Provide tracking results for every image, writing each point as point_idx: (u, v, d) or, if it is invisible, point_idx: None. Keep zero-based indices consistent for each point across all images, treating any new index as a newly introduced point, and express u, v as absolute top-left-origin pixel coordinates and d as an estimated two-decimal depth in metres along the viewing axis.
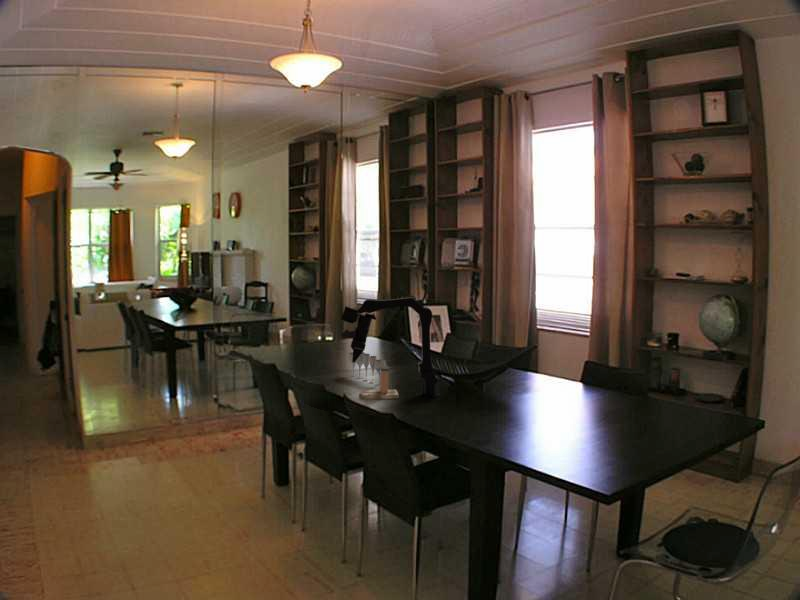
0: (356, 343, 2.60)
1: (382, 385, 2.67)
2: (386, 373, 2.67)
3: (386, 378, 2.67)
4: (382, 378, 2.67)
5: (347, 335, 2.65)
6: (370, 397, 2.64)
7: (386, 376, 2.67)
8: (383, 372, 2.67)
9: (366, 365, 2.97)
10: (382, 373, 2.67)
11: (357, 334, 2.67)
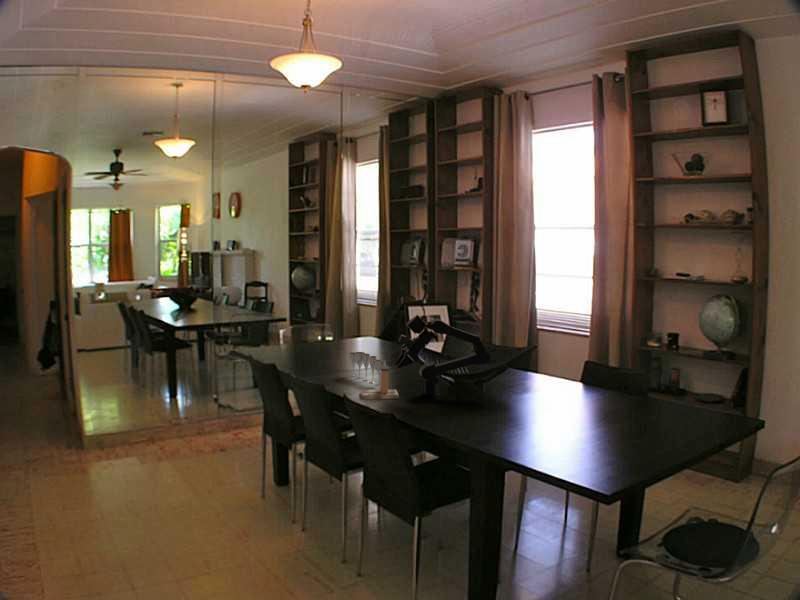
0: (413, 354, 2.60)
1: (382, 385, 2.67)
2: (386, 373, 2.67)
3: (386, 378, 2.67)
4: (382, 378, 2.67)
5: (406, 341, 2.65)
6: (370, 397, 2.64)
7: (386, 376, 2.67)
8: (383, 372, 2.67)
9: (366, 365, 2.97)
10: (382, 373, 2.67)
11: (414, 345, 2.67)
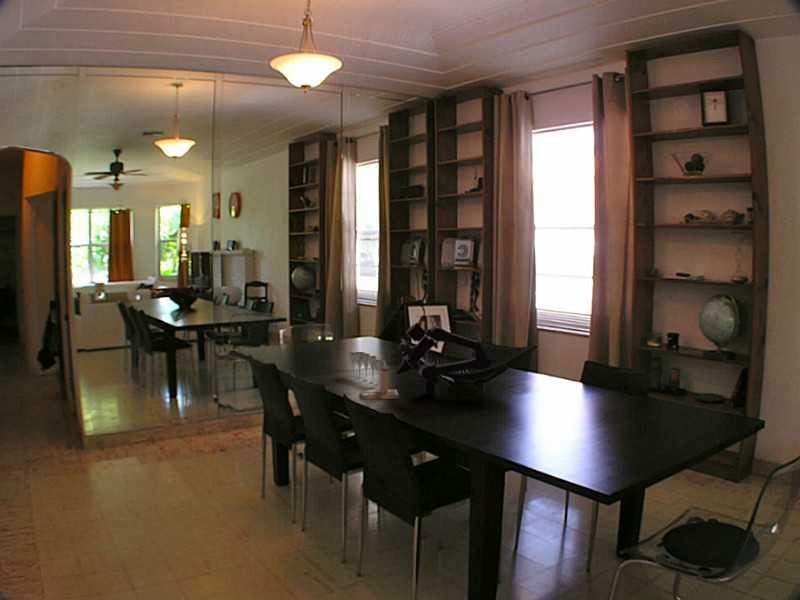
0: (413, 362, 2.61)
1: (382, 385, 2.67)
2: (386, 373, 2.67)
3: (386, 378, 2.67)
4: (382, 378, 2.67)
5: (406, 349, 2.65)
6: (370, 397, 2.64)
7: (386, 376, 2.67)
8: (383, 372, 2.67)
9: (366, 365, 2.97)
10: (382, 373, 2.67)
11: (414, 353, 2.68)
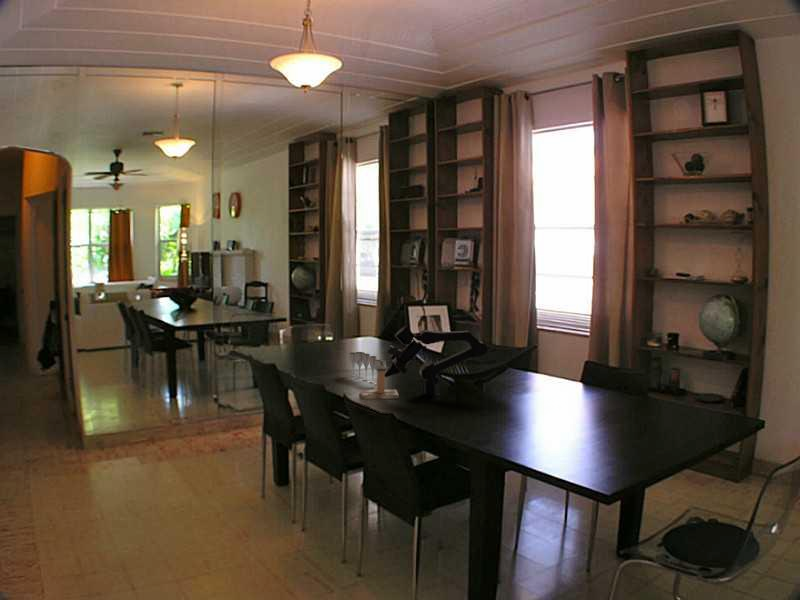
0: (401, 365, 2.60)
1: (379, 385, 2.67)
2: (383, 373, 2.67)
3: (383, 378, 2.67)
4: (379, 378, 2.67)
5: (394, 352, 2.65)
6: (370, 397, 2.64)
7: (383, 376, 2.67)
8: (380, 372, 2.66)
9: (366, 365, 2.97)
10: (379, 373, 2.66)
11: (402, 356, 2.67)
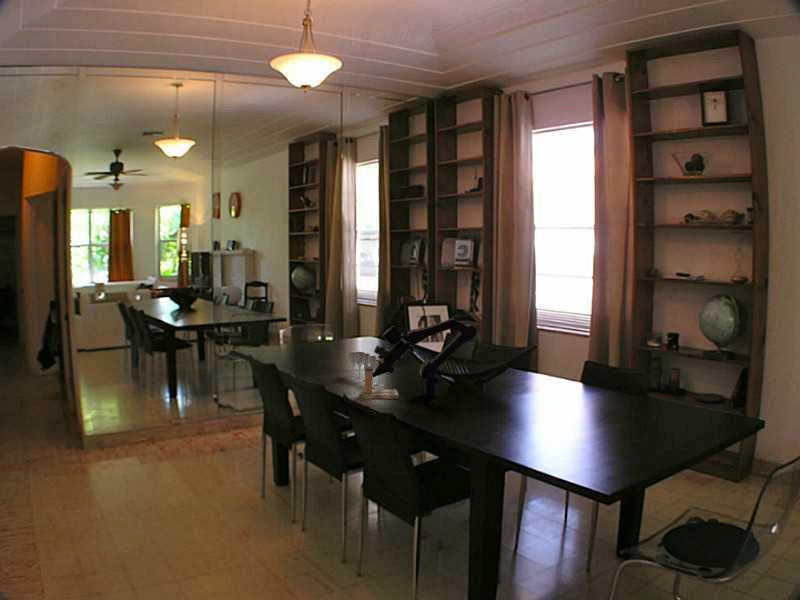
0: (388, 365, 2.60)
1: (366, 385, 2.66)
2: (370, 373, 2.66)
3: (370, 378, 2.66)
4: (366, 378, 2.66)
5: (381, 352, 2.64)
6: (370, 397, 2.64)
7: (370, 376, 2.66)
8: (367, 372, 2.66)
9: (366, 365, 2.97)
10: (366, 373, 2.66)
11: (389, 356, 2.66)
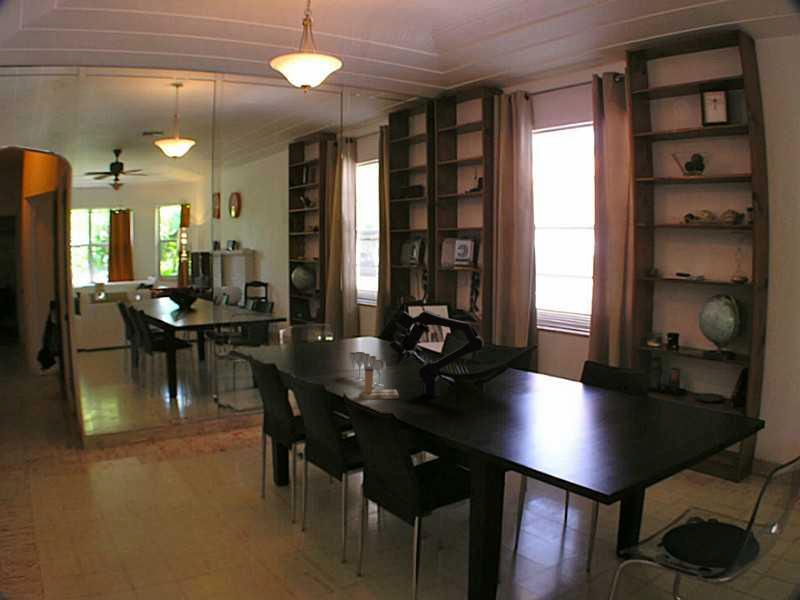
0: (393, 344, 2.67)
1: (366, 385, 2.66)
2: (370, 373, 2.66)
3: (370, 378, 2.66)
4: (366, 378, 2.66)
5: (396, 336, 2.73)
6: (370, 397, 2.64)
7: (371, 376, 2.66)
8: (367, 372, 2.66)
9: (366, 365, 2.97)
10: (366, 373, 2.66)
11: (405, 339, 2.72)
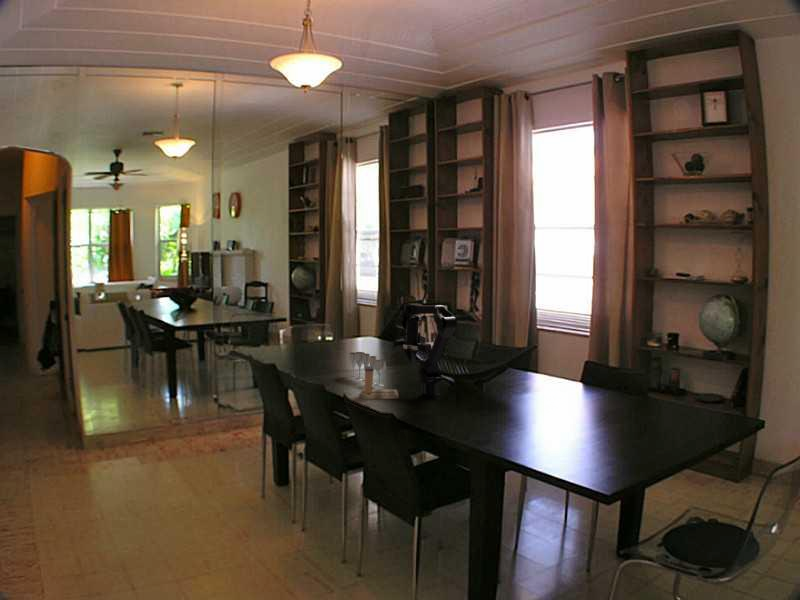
0: None
1: (366, 385, 2.66)
2: (370, 373, 2.66)
3: (370, 378, 2.66)
4: (366, 378, 2.66)
5: None
6: (370, 397, 2.64)
7: (371, 376, 2.66)
8: (367, 372, 2.66)
9: (366, 365, 2.97)
10: (366, 373, 2.66)
11: None
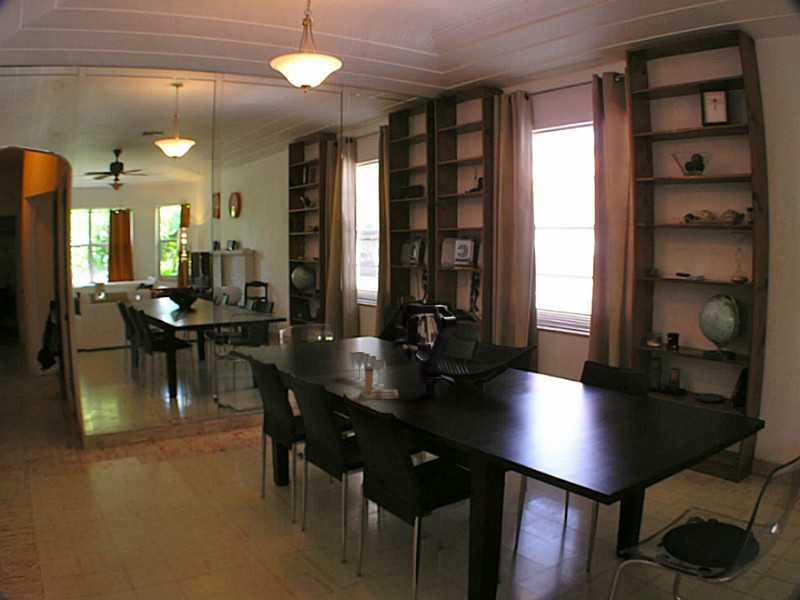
0: None
1: (366, 385, 2.66)
2: (370, 373, 2.66)
3: (370, 378, 2.66)
4: (366, 378, 2.66)
5: None
6: (370, 397, 2.64)
7: (371, 376, 2.66)
8: (367, 372, 2.66)
9: (366, 365, 2.97)
10: (366, 373, 2.66)
11: None
